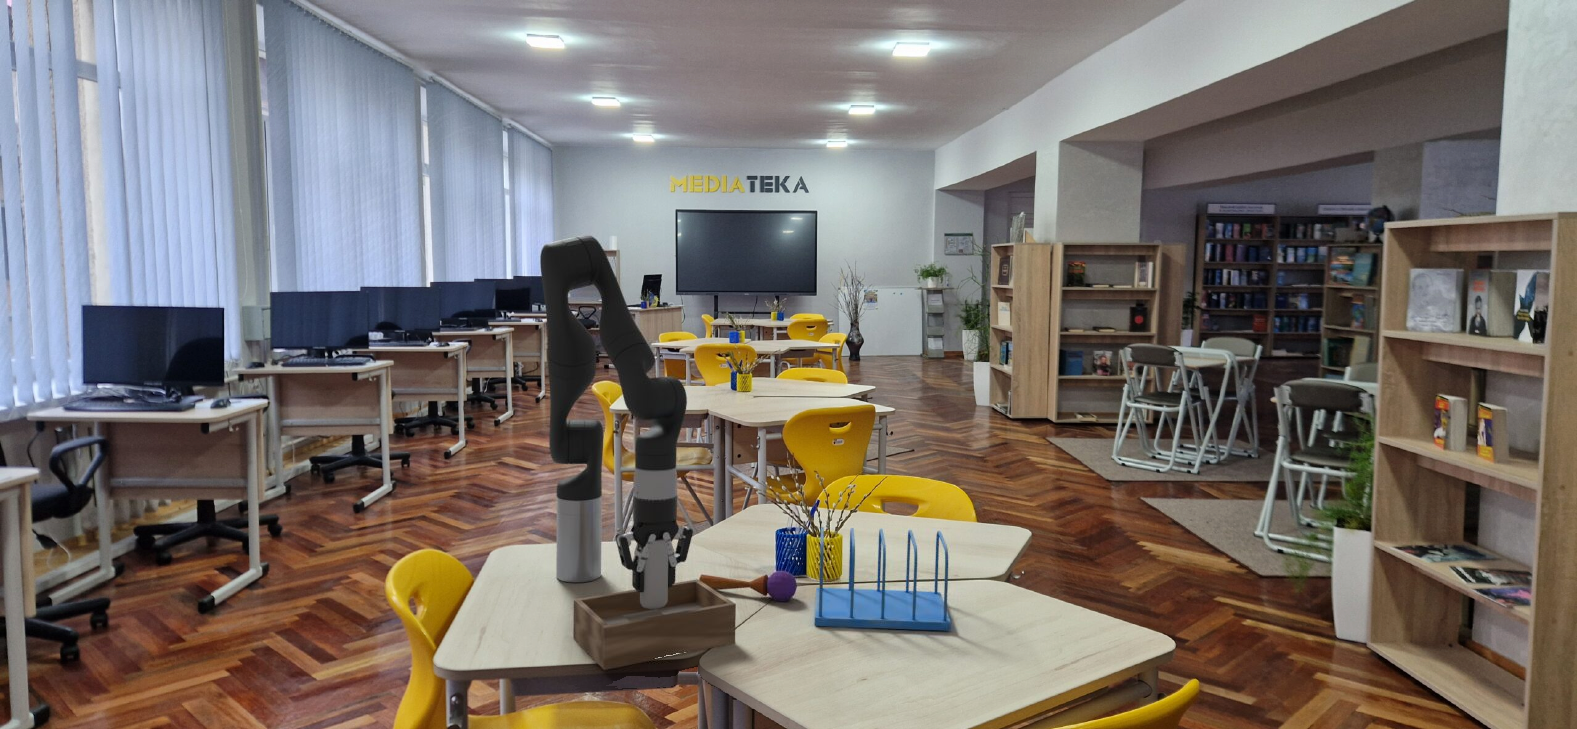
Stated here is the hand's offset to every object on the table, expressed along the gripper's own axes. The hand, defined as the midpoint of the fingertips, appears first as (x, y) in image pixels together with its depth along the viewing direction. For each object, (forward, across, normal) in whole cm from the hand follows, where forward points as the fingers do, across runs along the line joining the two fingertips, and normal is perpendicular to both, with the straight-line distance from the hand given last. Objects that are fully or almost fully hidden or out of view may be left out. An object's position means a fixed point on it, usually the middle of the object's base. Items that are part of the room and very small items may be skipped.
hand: (654, 588), depth 163 cm
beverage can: (+3, 0, 0) cm, 3 cm away
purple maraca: (+10, +26, +13) cm, 31 cm away
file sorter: (+10, +44, -7) cm, 46 cm away
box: (+9, 0, 0) cm, 9 cm away
